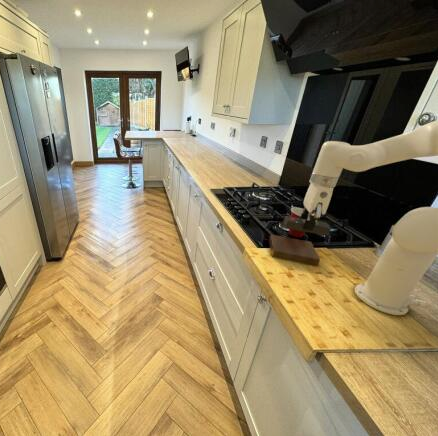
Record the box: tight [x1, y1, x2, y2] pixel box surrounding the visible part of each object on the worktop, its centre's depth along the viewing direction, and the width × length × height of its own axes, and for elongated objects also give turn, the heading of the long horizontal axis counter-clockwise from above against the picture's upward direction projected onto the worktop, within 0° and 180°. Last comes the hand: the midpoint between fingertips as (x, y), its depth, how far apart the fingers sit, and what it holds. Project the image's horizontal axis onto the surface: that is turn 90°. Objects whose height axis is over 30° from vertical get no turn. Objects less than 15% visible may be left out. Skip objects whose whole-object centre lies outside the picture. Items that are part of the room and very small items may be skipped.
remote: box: [282, 215, 332, 236], centre depth 88 cm, size 14×5×3 cm, turn 71°
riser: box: [268, 234, 321, 267], centre depth 98 cm, size 16×14×3 cm
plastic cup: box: [288, 207, 315, 238], centre depth 110 cm, size 11×11×12 cm
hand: (305, 225), depth 88 cm, fingers closed on remote, 5 cm apart
